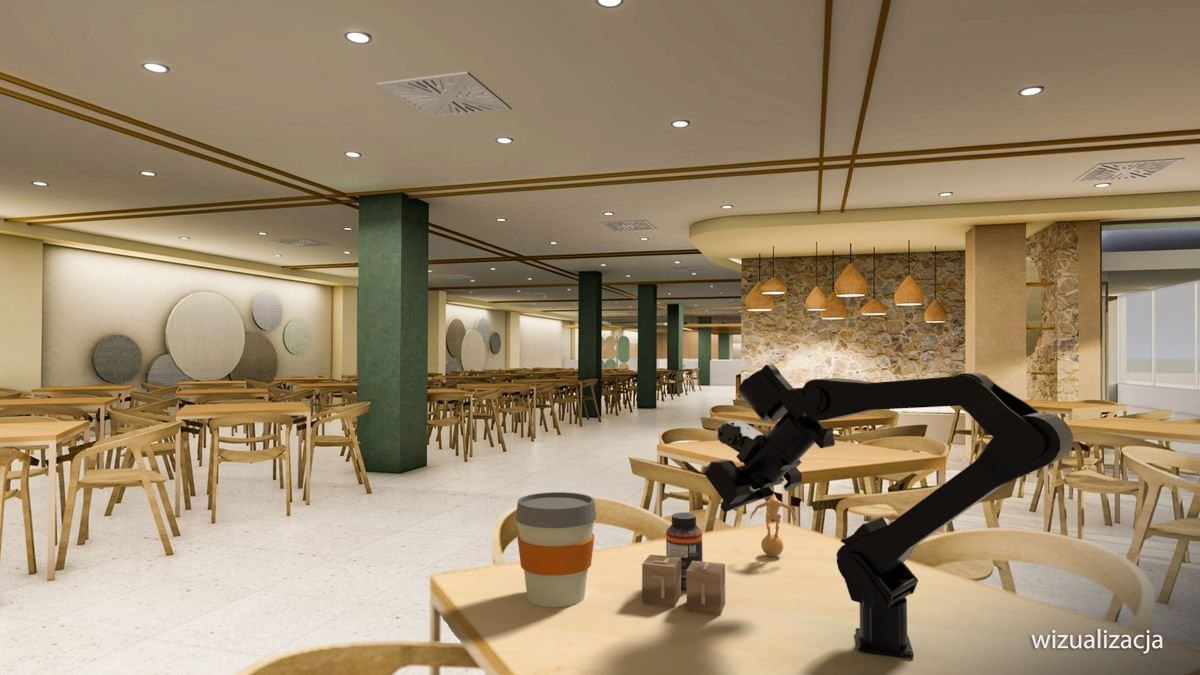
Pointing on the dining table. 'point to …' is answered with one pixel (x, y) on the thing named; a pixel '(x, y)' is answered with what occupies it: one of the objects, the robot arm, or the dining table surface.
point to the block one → (705, 587)
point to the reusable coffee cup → (555, 546)
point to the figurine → (772, 542)
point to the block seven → (661, 580)
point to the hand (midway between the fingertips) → (723, 509)
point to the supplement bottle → (684, 541)
